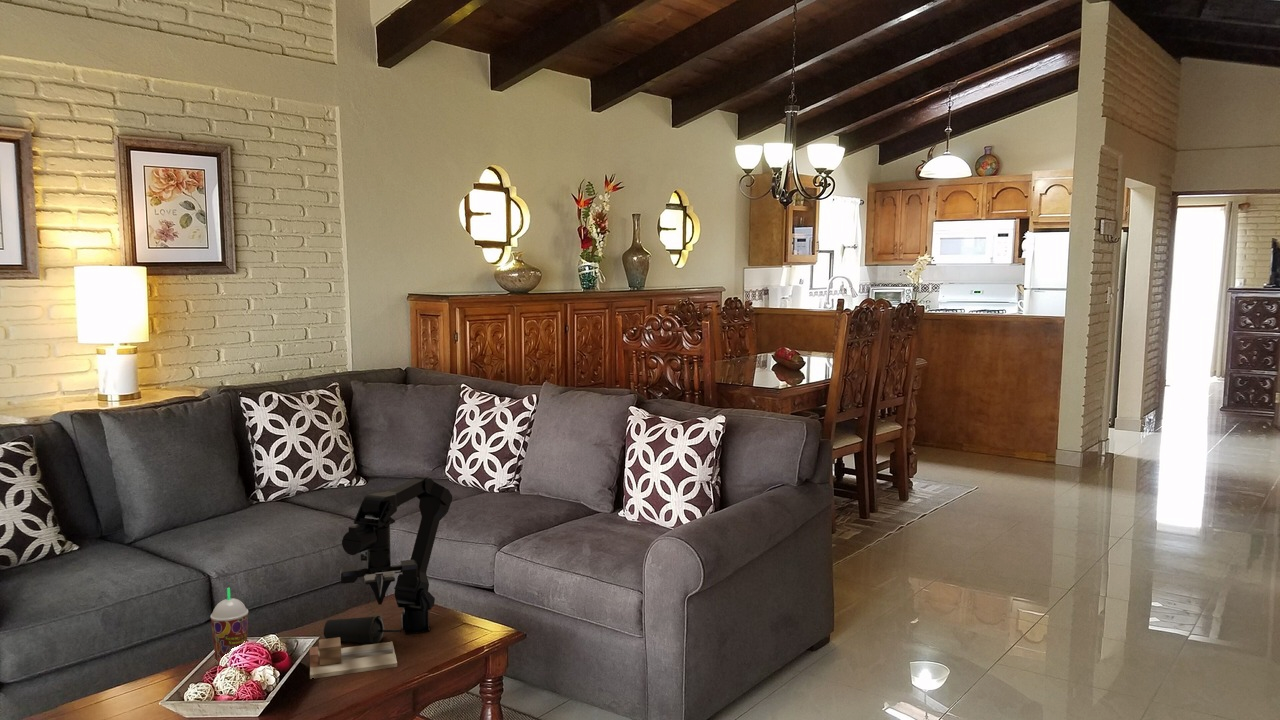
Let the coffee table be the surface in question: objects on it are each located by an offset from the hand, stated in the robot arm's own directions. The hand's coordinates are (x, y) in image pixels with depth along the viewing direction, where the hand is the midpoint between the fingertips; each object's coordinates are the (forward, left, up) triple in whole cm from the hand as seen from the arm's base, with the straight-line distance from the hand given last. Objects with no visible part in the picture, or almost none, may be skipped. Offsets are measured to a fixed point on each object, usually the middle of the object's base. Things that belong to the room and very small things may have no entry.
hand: (379, 604), depth 226 cm
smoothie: (+35, -1, -12) cm, 37 cm away
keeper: (+12, +5, -11) cm, 17 cm away
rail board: (+7, +5, -12) cm, 15 cm away
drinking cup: (+13, -12, -9) cm, 20 cm away
